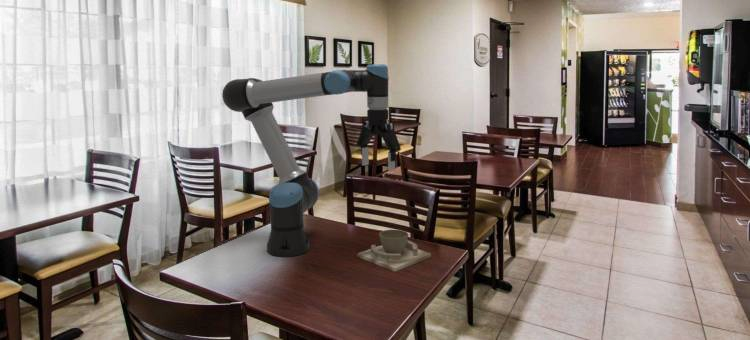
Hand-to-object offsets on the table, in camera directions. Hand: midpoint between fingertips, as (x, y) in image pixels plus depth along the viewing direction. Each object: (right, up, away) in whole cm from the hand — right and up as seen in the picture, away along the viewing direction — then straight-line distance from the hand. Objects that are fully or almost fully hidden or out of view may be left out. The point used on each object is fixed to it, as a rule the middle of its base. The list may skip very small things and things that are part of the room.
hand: (378, 167), depth 179 cm
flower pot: (+5, -30, -8) cm, 32 cm away
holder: (+5, -31, -8) cm, 32 cm away
